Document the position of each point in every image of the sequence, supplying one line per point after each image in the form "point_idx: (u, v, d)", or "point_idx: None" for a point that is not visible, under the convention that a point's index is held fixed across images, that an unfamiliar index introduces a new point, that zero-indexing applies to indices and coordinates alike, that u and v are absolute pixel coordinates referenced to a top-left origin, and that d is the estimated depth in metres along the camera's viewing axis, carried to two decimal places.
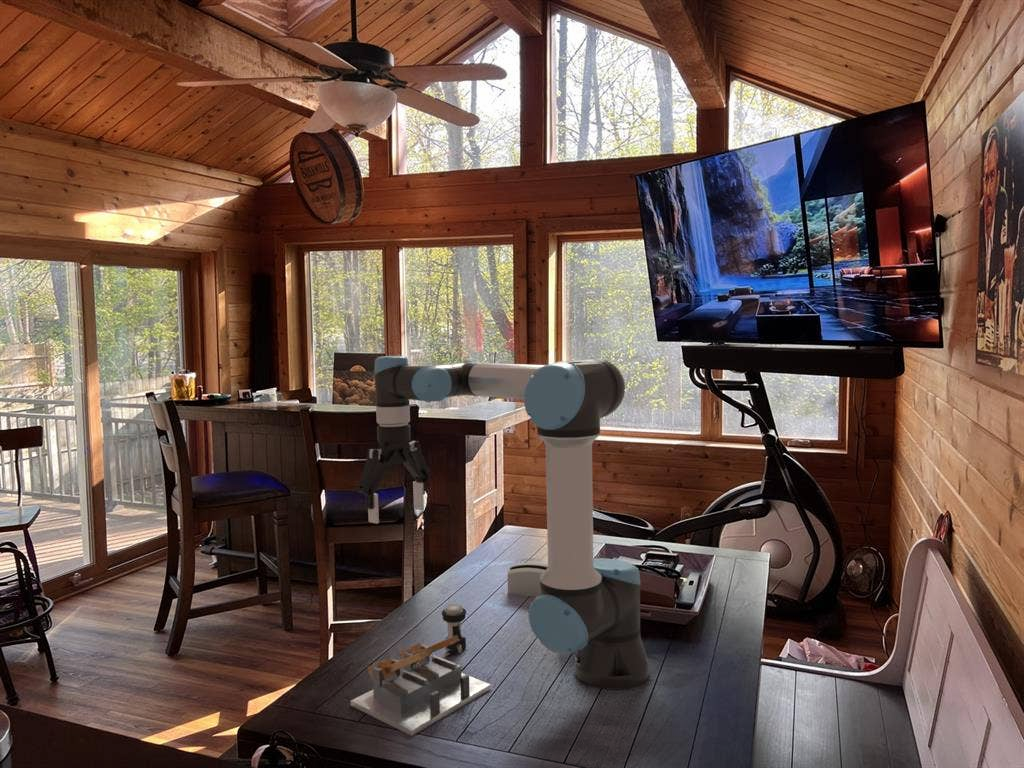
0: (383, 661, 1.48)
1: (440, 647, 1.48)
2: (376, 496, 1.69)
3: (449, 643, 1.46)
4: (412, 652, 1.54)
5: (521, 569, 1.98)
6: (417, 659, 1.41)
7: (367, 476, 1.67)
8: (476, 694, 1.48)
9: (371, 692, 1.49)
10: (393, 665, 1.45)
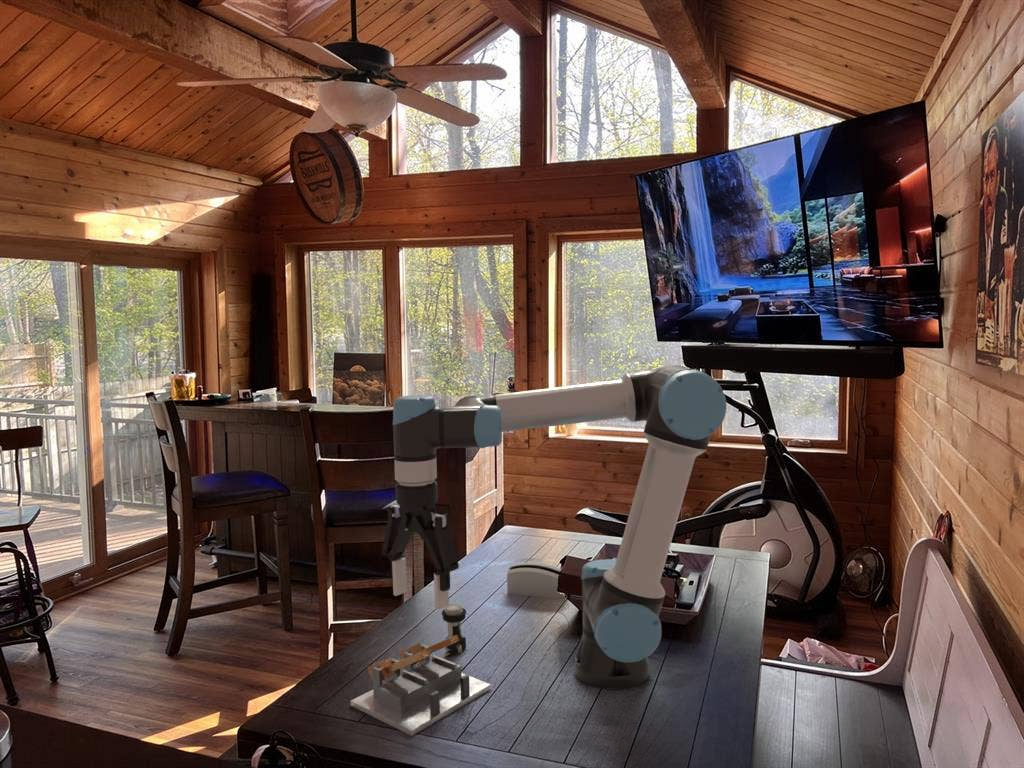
0: (383, 661, 1.48)
1: (440, 647, 1.48)
2: (393, 563, 1.42)
3: (449, 643, 1.46)
4: (412, 652, 1.54)
5: (520, 569, 1.98)
6: (417, 659, 1.41)
7: None
8: (476, 694, 1.48)
9: (371, 692, 1.49)
10: (393, 665, 1.45)
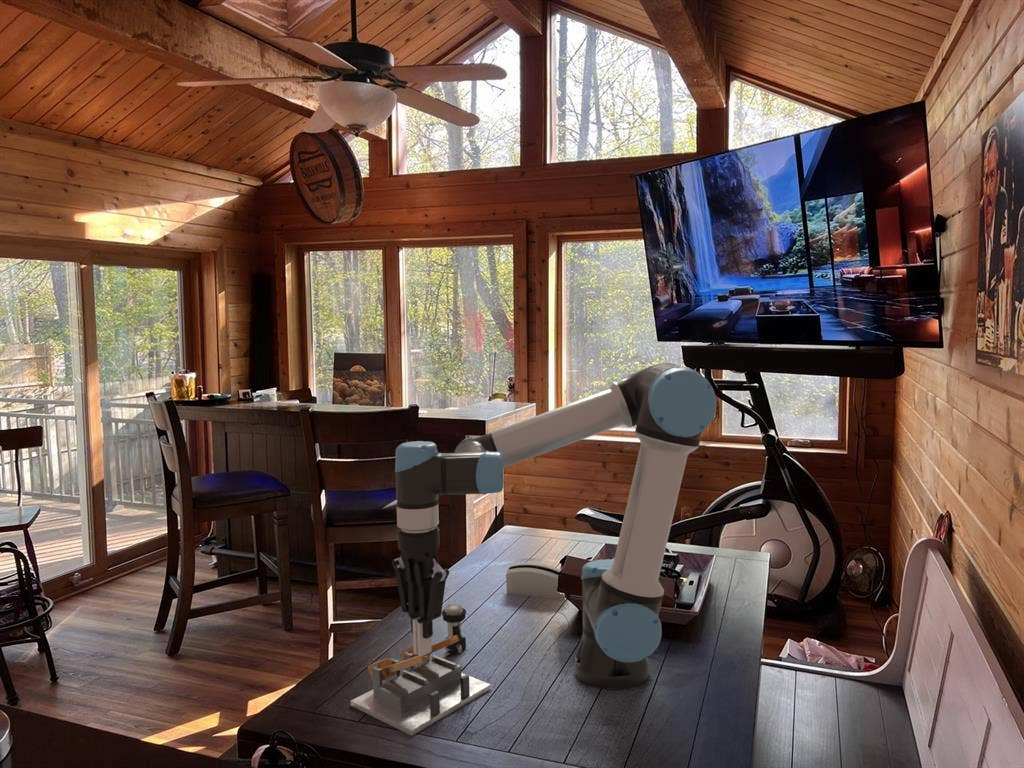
0: (383, 661, 1.48)
1: (440, 647, 1.48)
2: (413, 622, 1.40)
3: (449, 643, 1.46)
4: (412, 652, 1.54)
5: (519, 569, 1.98)
6: (418, 662, 1.40)
7: None
8: (476, 694, 1.48)
9: (371, 692, 1.49)
10: (393, 666, 1.45)
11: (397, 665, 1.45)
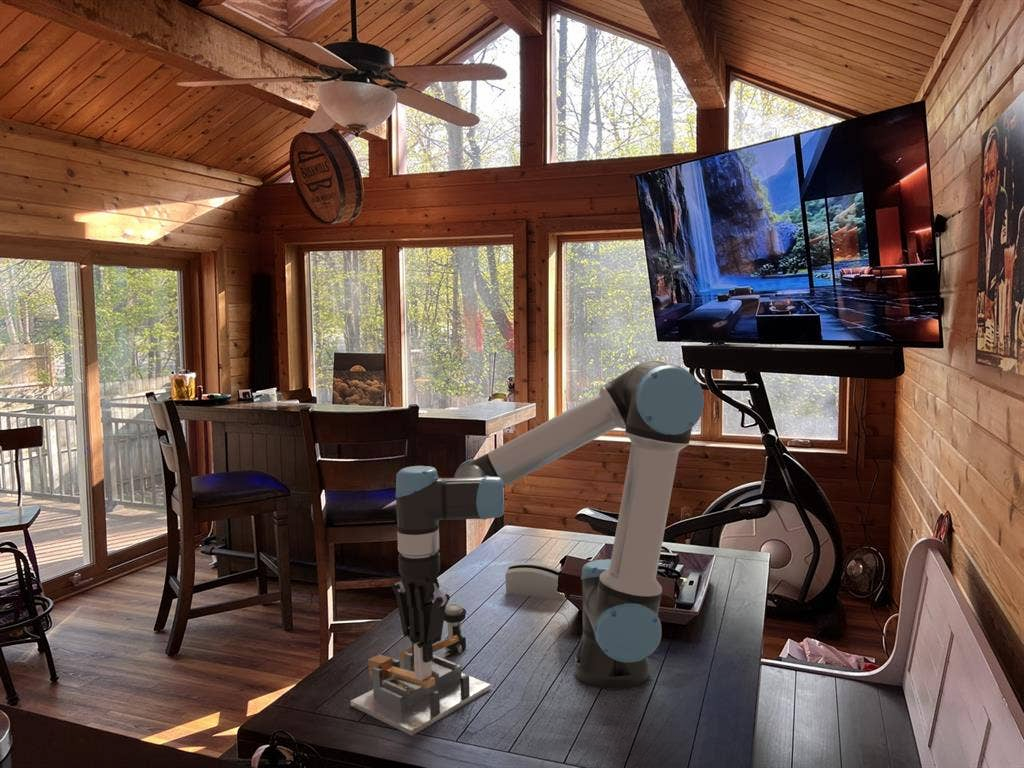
0: (386, 662, 1.48)
1: (440, 647, 1.48)
2: (415, 646, 1.40)
3: (449, 643, 1.46)
4: None
5: (519, 569, 1.98)
6: (423, 685, 1.40)
7: None
8: (476, 694, 1.48)
9: (371, 692, 1.49)
10: (396, 674, 1.45)
11: (400, 675, 1.44)
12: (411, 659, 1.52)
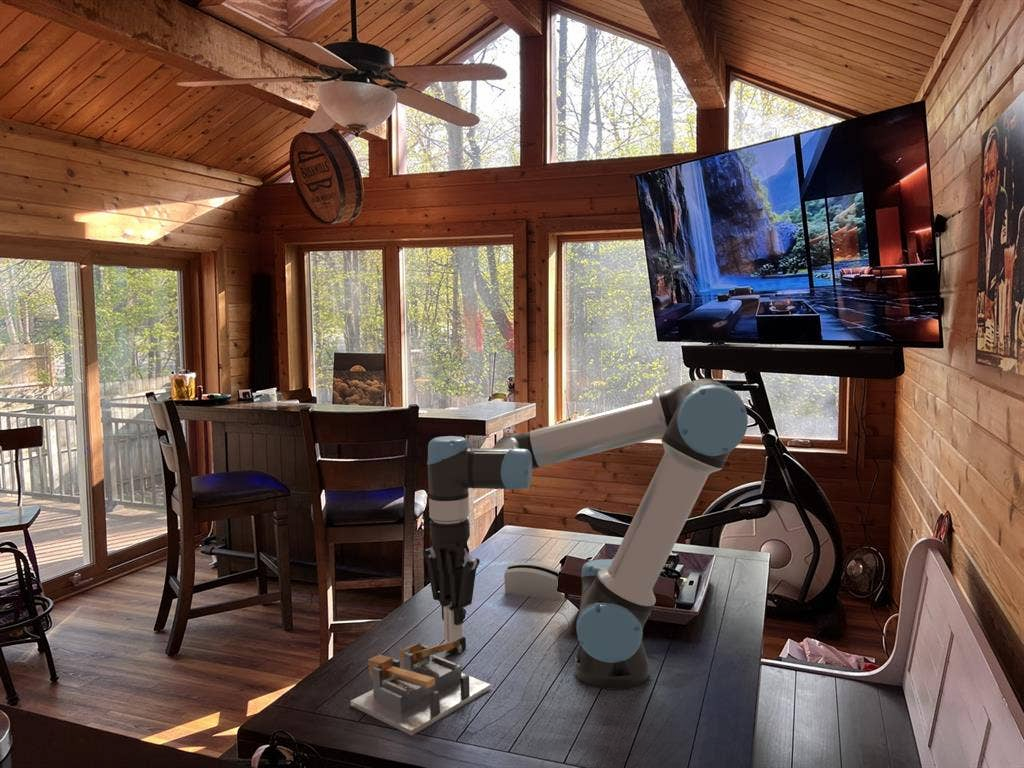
0: (386, 662, 1.48)
1: (441, 650, 1.48)
2: (444, 609, 1.46)
3: (450, 647, 1.46)
4: (412, 652, 1.53)
5: (517, 569, 1.98)
6: (423, 685, 1.40)
7: None
8: (476, 694, 1.48)
9: (371, 692, 1.49)
10: (396, 674, 1.45)
11: (400, 675, 1.44)
12: (411, 659, 1.52)
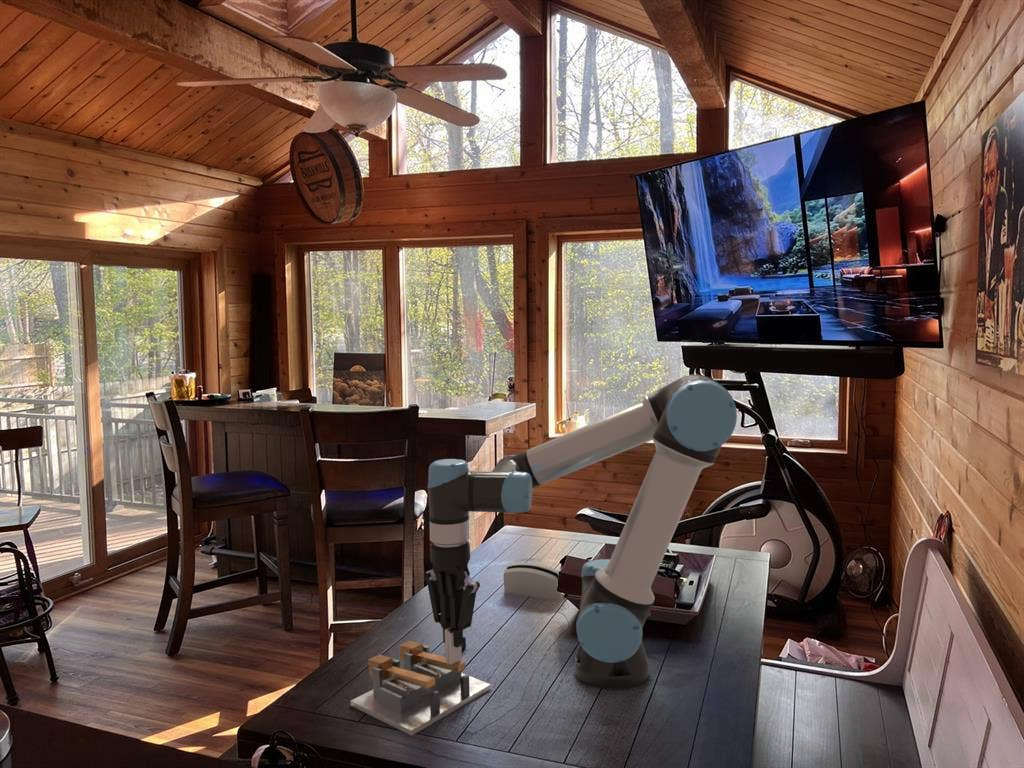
0: (386, 662, 1.48)
1: (444, 667, 1.48)
2: (446, 632, 1.46)
3: (455, 669, 1.46)
4: (413, 653, 1.53)
5: (516, 569, 1.98)
6: (423, 685, 1.40)
7: None
8: (476, 694, 1.48)
9: (371, 692, 1.49)
10: (396, 674, 1.45)
11: (400, 675, 1.44)
12: (411, 659, 1.52)
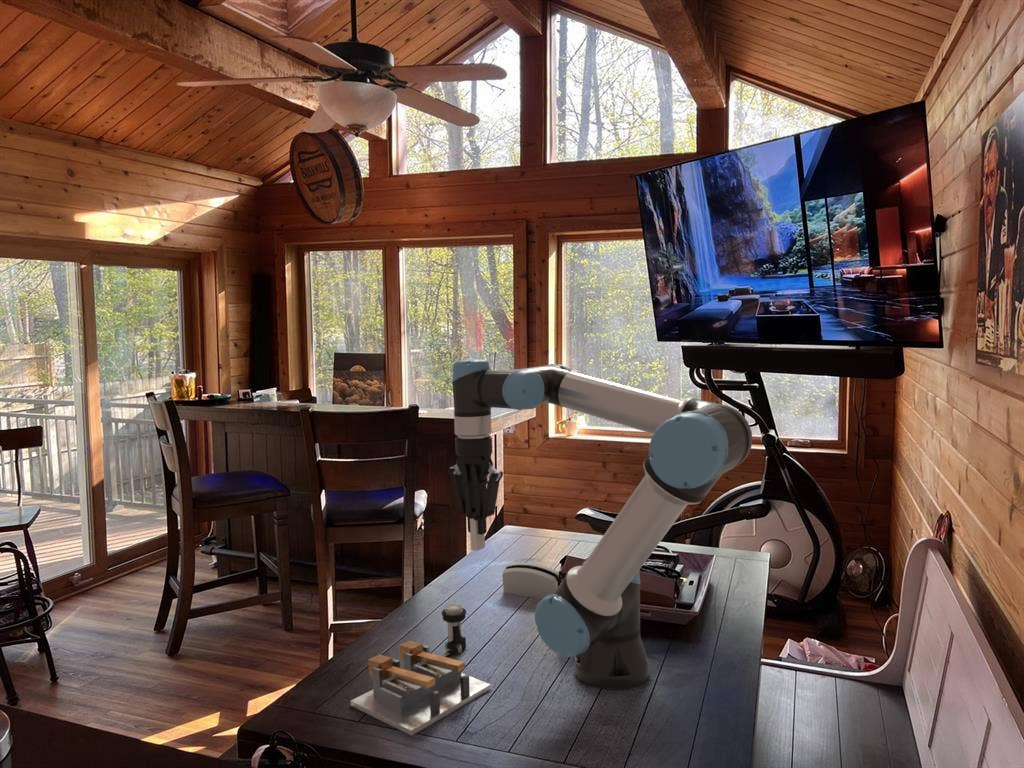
0: (386, 662, 1.48)
1: (444, 667, 1.48)
2: (471, 521, 1.56)
3: (455, 669, 1.46)
4: (413, 653, 1.53)
5: (515, 569, 1.98)
6: (423, 685, 1.40)
7: None
8: (476, 694, 1.48)
9: (371, 692, 1.49)
10: (396, 674, 1.45)
11: (400, 675, 1.44)
12: (411, 659, 1.52)
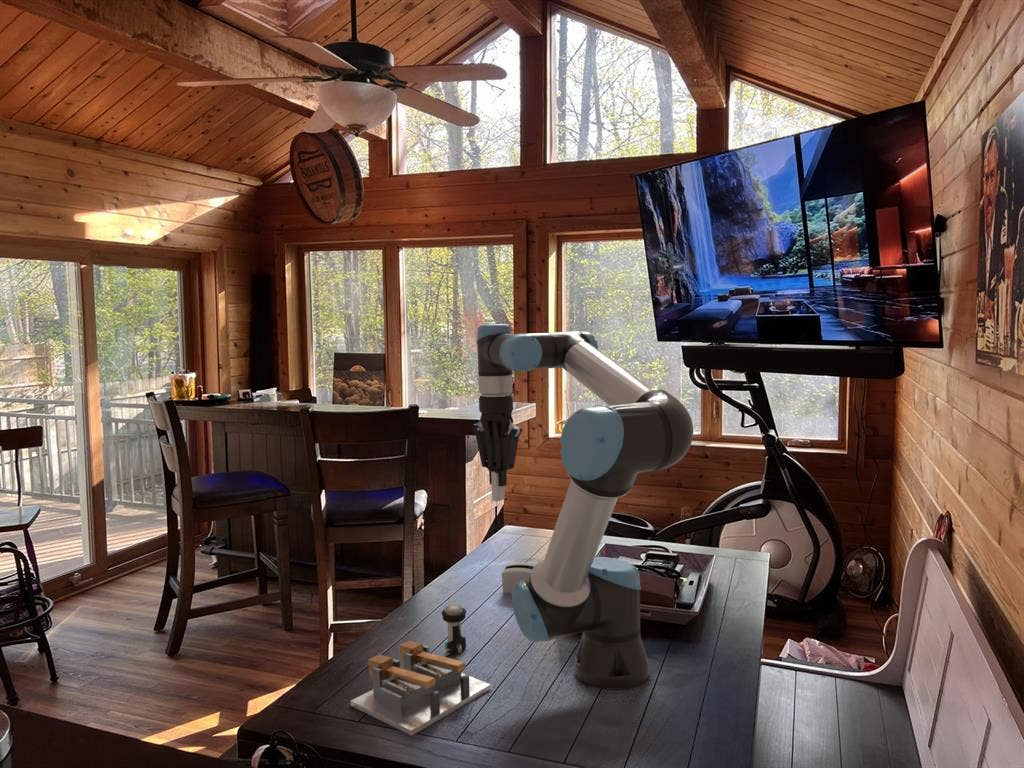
0: (386, 662, 1.48)
1: (444, 667, 1.48)
2: (492, 473, 1.69)
3: (455, 669, 1.46)
4: (413, 653, 1.53)
5: (514, 569, 1.98)
6: (423, 685, 1.40)
7: None
8: (476, 694, 1.48)
9: (371, 692, 1.49)
10: (396, 674, 1.45)
11: (400, 675, 1.44)
12: (411, 659, 1.52)
